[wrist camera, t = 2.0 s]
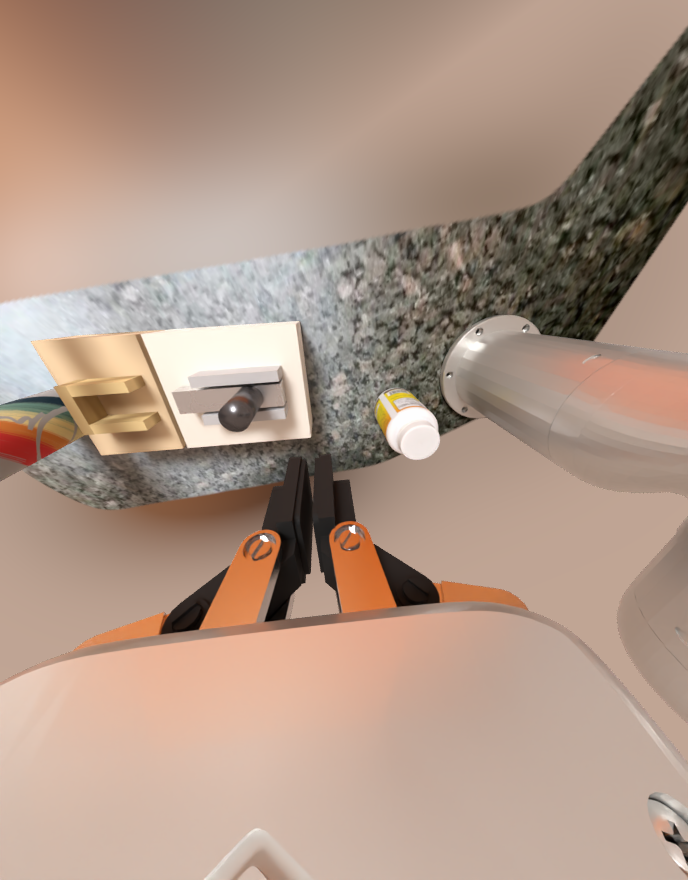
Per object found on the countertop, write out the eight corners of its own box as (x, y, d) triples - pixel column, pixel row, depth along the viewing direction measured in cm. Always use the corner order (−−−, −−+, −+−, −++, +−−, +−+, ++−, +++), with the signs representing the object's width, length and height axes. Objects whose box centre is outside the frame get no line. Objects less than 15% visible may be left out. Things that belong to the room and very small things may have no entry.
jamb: (165, 329, 27) (115, 337, 20) (202, 429, 33) (172, 459, 26) (78, 335, 26) (-1, 345, 20) (131, 435, 32) (83, 467, 26)
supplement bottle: (389, 432, 35) (412, 476, 26) (364, 405, 33) (380, 443, 24) (422, 407, 34) (458, 444, 25) (398, 377, 31) (429, 405, 22)
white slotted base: (299, 321, 27) (292, 325, 21) (312, 420, 33) (310, 447, 27) (170, 329, 27) (121, 337, 20) (206, 428, 33) (177, 459, 26)
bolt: (282, 377, 25) (269, 400, 19) (286, 400, 26) (275, 429, 20) (181, 385, 25) (135, 411, 18) (190, 407, 26) (148, 439, 20)
